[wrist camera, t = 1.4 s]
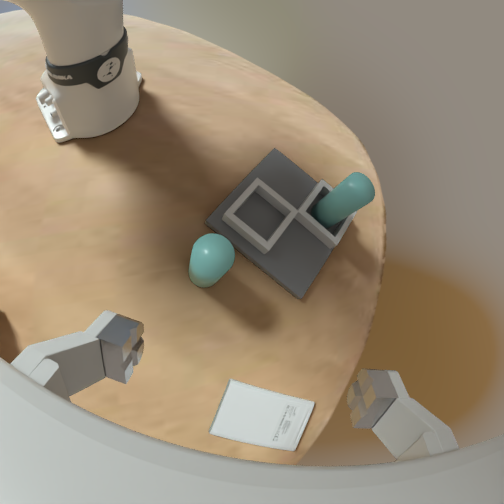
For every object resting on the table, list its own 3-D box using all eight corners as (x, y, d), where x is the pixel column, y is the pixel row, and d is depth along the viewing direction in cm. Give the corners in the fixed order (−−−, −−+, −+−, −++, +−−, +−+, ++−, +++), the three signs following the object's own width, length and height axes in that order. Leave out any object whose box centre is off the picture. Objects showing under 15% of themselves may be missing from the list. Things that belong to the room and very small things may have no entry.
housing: (204, 223, 36) (215, 185, 26) (272, 151, 42) (299, 106, 31) (297, 299, 37) (342, 290, 27) (349, 217, 42) (394, 189, 32)
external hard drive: (228, 377, 33) (310, 399, 35) (207, 430, 31) (290, 448, 32) (231, 379, 32) (316, 402, 33) (209, 434, 29) (294, 452, 31)
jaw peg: (181, 273, 34) (182, 256, 25) (201, 249, 35) (210, 225, 26) (206, 294, 34) (216, 285, 25) (226, 269, 36) (243, 252, 26)
